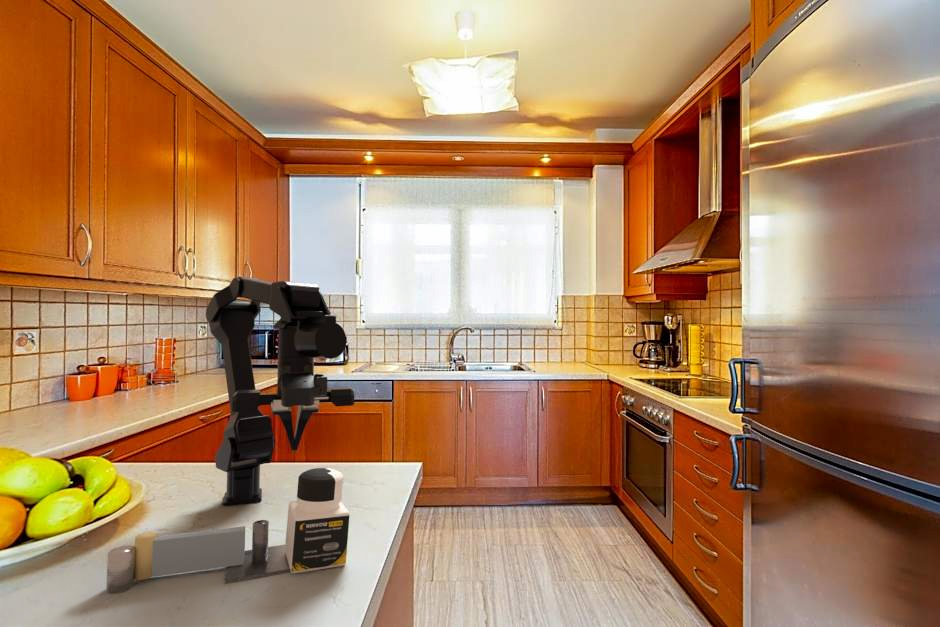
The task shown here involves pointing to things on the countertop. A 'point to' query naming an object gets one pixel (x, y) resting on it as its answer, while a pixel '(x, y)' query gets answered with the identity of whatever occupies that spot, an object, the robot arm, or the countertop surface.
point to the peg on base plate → (259, 557)
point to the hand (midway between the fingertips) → (294, 450)
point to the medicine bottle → (317, 522)
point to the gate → (188, 551)
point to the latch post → (120, 569)
